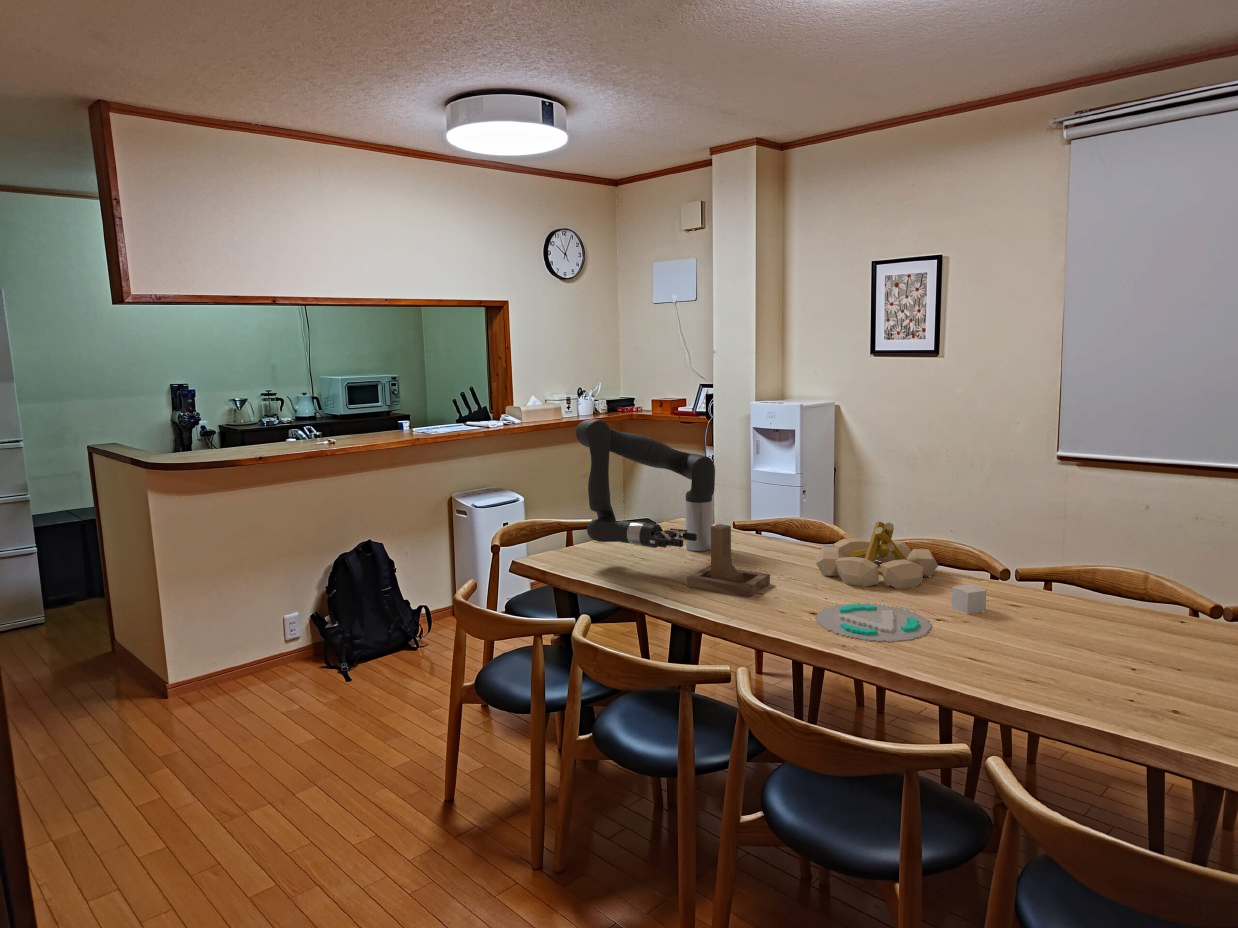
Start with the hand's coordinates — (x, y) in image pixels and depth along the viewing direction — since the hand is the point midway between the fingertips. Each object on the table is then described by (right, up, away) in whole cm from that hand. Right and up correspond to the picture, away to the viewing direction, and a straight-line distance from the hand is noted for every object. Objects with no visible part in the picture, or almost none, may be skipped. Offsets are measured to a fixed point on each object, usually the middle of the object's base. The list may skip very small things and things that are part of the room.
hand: (689, 540), depth 250 cm
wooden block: (+11, -13, -6) cm, 18 cm away
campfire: (+58, -11, +4) cm, 59 cm away
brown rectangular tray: (+11, -13, -5) cm, 18 cm away
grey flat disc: (+44, -18, -39) cm, 61 cm away
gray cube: (+72, -16, -31) cm, 80 cm away
